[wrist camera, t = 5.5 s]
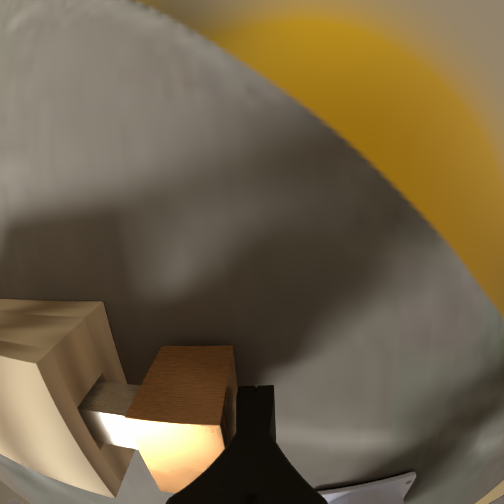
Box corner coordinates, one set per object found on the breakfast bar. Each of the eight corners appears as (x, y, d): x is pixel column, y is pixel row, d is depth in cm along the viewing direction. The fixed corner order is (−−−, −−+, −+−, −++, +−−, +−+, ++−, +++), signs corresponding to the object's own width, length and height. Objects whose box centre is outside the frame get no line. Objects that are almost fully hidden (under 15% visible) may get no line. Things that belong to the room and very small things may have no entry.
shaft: (232, 345, 12) (219, 425, 8) (242, 421, 13) (236, 497, 9) (-19, 328, 13) (-63, 360, 8) (6, 387, 14) (-29, 424, 9)
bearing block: (103, 301, 13) (36, 363, 7) (144, 427, 14) (115, 498, 9) (-11, 298, 13) (-69, 334, 8) (32, 404, 15) (-5, 451, 10)
